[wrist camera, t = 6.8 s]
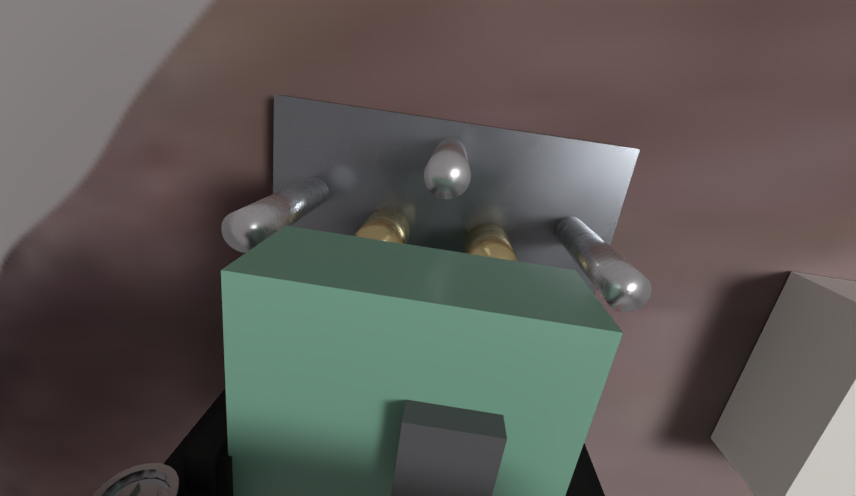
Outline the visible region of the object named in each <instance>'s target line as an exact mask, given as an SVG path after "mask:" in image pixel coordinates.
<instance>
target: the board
mask: <svg viewBox="0 0 856 496" xmlns="http://www.w3.org/2000/svg"><path fill="white" fill-rule="evenodd" d="M221 287H222V312H223V338H224V363H225V388H226V413H227V438H228V455H229V456H232V472H233V496H565V495H566V492H567V490H568V487H569V484H570V481H571V478H572V475H573V473H574V470H575V467H576V464H577V461H578V459H579V456H580V453H581V450H582V447H583V444H584V442H585V439H586V436H587V433H588V430H589V427H590V425H591V422H592V419H593V416H594V413H595V410H596V408H597V405H598V402H599V399H600V396H601V393H602V391H603V388H604V385H605V382H606V379H607V376H608V374H609V371H610V368H611V365H612V362H613V360H614V357H615V354H616V351H617V348H618V345H619V343H620V340H621V337H622V334H623V332H622V331H621V330H620V328H619V327H618V326H617V324H616V323H615V322H614V320H613V319H612V318H611V316H610V315H609V314H608V312H607V311H606V310H605V308H604V307H603V306H602V304H601V303H600V302H599V300H598V299H597V298H596V296H595V295H594V294H593V293H592V291H591V290H590V289H589V287H588V286H587V285H586V283H585V282H584V281H583V279H582V278H581V277H580V275H579V274H578V273H577V271H576V270H571V269H565V268H558V267H552V266H545V265H539V264H532V263H526V262H519V261H513V260H506V259H500V258H493V257H487V256H480V255H474V254H467V253H461V252H454V251H448V250H441V249H435V248H428V247H422V246H415V245H409V244H402V243H396V242H389V241H383V240H376V239H370V238H363V237H357V236H350V235H344V234H337V233H331V232H324V231H318V230H311V229H305V228H298V227H292V226H285V227H283V228H282V229H280V230H279V231H277V232H276V233H274V234H273V235H271V236H270V237H268V238H267V239H266V240H264V241H263V242H261V243H260V244H258V245H257V246H255V247H254V248H252V249H251V250H249V251H248V252H247V253H245V254H244V255H242V256H241V257H239V258H238V259H236V260H235V261H233V262H232V263H231V264H229V265H228V266H226V267H225V268H223V269H222V270H221Z"/></svg>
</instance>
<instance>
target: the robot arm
mask: <svg viewBox="0 0 856 496" xmlns="http://www.w3.org/2000/svg"><path fill="white" fill-rule="evenodd" d="M93 496H233V472H232V456H229V455H228V438H227V413H226V388H225V390H224V391H223V392H222V393H221V394H220V396H219V397H218V398H217V399H216V400H215V402H214V403H213V404H212V405H211V407H210V408H209V409H208V410H207V411H206V413H205V414H204V415H203V416H202V418H201V419H200V420H199V421H198V422H197V424H196V425H195V426H194V427H193V429H192V430H191V431H190V432H189V433H188V435H187V436H186V437H185V438H184V440H183V441H182V442H181V443H180V444H179V446H178V447H177V448H176V449H175V451H174V452H173V453H172V454H171V455H170V457H169V458H168V459H167V460H166V461H165V463H164V464H161V463H146V464H142V465H138V466H134V467H131V468H129V469H127V470H124V471H122V472H120V473H118V474H117V475H115V476H114V477H112V478H111V479H109V480H107V481H106V482H105V483H104V484H103V485H102V486H101V487H100V488H99V489H98V490H97V491H96V492H95V493H94V495H93ZM565 496H605V495H604V492H603V490H602V487H601V485H600V482H599V479H598V477H597V474H596V472H595V469H594V467H593V464H592V462H591V459H590V456H589V454H588V451H587V449H586V446H585V444H583V447H582V450H581V453H580V456H579V459H578V461H577V464H576V467H575V470H574V473H573V475H572V478H571V481H570V484H569V487H568V490H567V492H566V495H565Z"/></svg>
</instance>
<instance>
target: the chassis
mask: <svg viewBox="0 0 856 496" xmlns="http://www.w3.org/2000/svg"><path fill="white" fill-rule="evenodd" d="M639 151H640V149H636V148H631V147H626V146H619V145H612V144H606V143H599V142H592V141H586V140H579V139H572V138H566V137H559V136H552V135H546V134H539V133H532V132H526V131H519V130H512V129H506V128H499V127H492V126H485V125H479V124H472V123H465V122H459V121H452V120H445V119H439V118H432V117H425V116H419V115H412V114H405V113H399V112H392V111H385V110H379V109H372V108H365V107H359V106H352V105H345V104H339V103H332V102H325V101H319V100H312V99H305V98H299V97H292V96H284V95H274V142H273V194H272V195H270V196H268V197H265V198H263V199H261V200H259V201H257V202H254V203H252V204H250V205H248V206H245V207H243V208H241V209H239V210H237V211H234V212H232V213H230V214H228V215H227V216H226V217H225V218H224V220H223V222H222V226H221V231H222V235H223V238H224V240H225V241H226V243H227V244H228V245H229V246H230V247H231V248H233V249H235V250H237V251H239V252H244V253H247V252H248V251H249V250H251V249H252V248H254V247H255V246H257V245H258V244H260V243H261V242H263V241H264V240H266V239H267V238H268V237H270V236H271V235H273V234H274V233H276V232H277V231H279V230H280V229H282V228H283V227H285V226H292V227H298V228H305V229H311V230H318V231H324V232H331V233H337V234H344V235H350V236H357V237H363V238H370V239H376V240H383V241H389V242H396V243H402V244H409V245H415V246H422V247H428V248H435V249H441V250H448V251H454V252H461V253H467V254H474V255H480V256H487V257H493V258H500V259H506V260H513V261H519V262H526V263H532V264H539V265H545V266H552V267H558V268H565V269H571V270H576V271H577V273H578V274H579V275H580V277H581V278H582V279H583V281H584V282H585V283H586V285H587V286H588V287H589V289H590V290H591V291H592V293H593V294H594V295H595V291H596V289H597V290H598V291H599V292H600V294H601V295H602V296H603V298H604V299H605V300H606V301H607V303H608V304H609V305H610V306H611V307H612V308H613V309H615V310H617V311H620V312H632V311H635V310H638V309H640V308H641V307H643V306H644V305H645V304H646V303H647V302H648V300H649V298H650V296H651V291H652V288H651V284H650V282H649V280H648V279H647V278H646V277H645V276H644V275H643V274H641V273H640V272H639V271H638V270H637V269H636V268H635V267H633V266H632V265H631V264H630V263H629V262H628V261H627V260H625V259H624V258H623V257H622V256H621V255H620V254H619V253H617V252H616V251H615V250H614V249H613V248H612V247H611V246H610V243H611V240H612V237H613V234H614V231H615V227H616V224H617V221H618V218H619V215H620V211H621V208H622V205H623V202H624V199H625V195H626V192H627V189H628V186H629V183H630V179H631V176H632V173H633V170H634V167H635V163H636V160H637V157H638V154H639Z"/></svg>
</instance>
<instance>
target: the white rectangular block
mask: <svg viewBox="0 0 856 496" xmlns="http://www.w3.org/2000/svg"><path fill="white" fill-rule="evenodd" d="M711 439H712V441H713V442H714V443H715V444H716V446H717V447H718V448H719V450H720V451H721V452H722V453H723V455H724V456H725V457H726V459H727V460H728V461H729V462H730V464H731V465H732V466H733V468H734V469H735V470H736V471H737V473H738V474H739V475H740V477H741V478H742V479H743V480H744V482H745V483H746V484H747V486H748V487H749V488H750V489H751V491H752V492H753V493H754V495H755V496H856V281H850V280H844V279H837V278H831V277H824V276H818V275H811V274H805V273H798V272H792V271H791V273H790V275H789V277H788V279H787V281H786V283H785V286H784V288H783V290H782V292H781V294H780V296H779V298H778V300H777V302H776V304H775V306H774V308H773V310H772V312H771V314H770V316H769V318H768V320H767V322H766V325H765V327H764V329H763V331H762V333H761V335H760V337H759V339H758V341H757V343H756V345H755V347H754V349H753V351H752V353H751V355H750V357H749V359H748V362H747V364H746V366H745V368H744V370H743V372H742V374H741V376H740V378H739V380H738V382H737V384H736V386H735V388H734V390H733V392H732V394H731V396H730V398H729V401H728V403H727V405H726V407H725V409H724V411H723V413H722V415H721V417H720V419H719V421H718V423H717V425H716V427H715V429H714V431H713V433H712V435H711Z"/></svg>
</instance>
